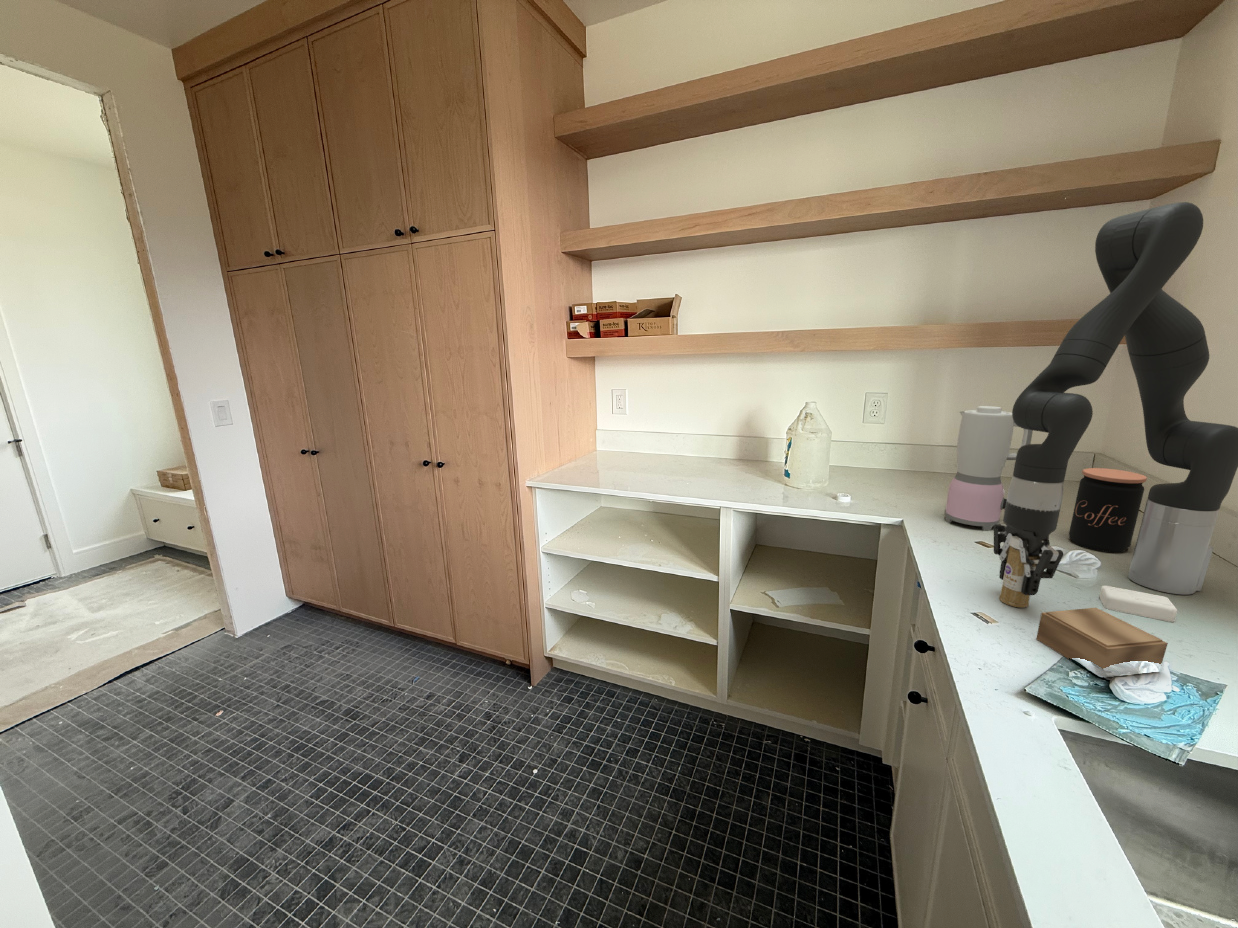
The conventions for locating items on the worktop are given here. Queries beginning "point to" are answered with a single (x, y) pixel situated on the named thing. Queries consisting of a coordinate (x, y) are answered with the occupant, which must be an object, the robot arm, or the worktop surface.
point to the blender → (981, 466)
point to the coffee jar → (1106, 509)
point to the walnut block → (1098, 637)
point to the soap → (1138, 603)
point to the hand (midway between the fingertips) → (1016, 586)
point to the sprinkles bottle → (1014, 577)
